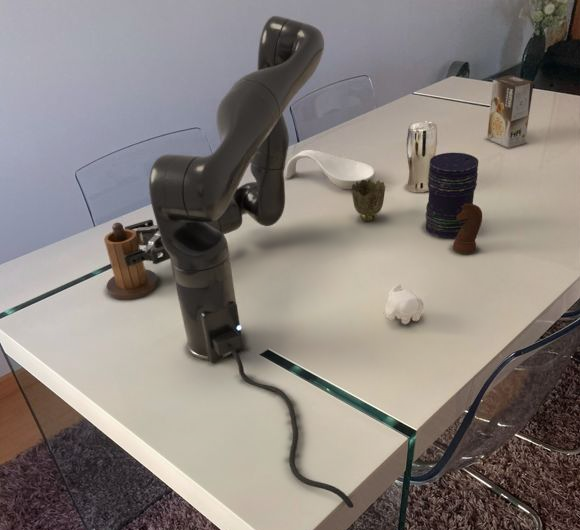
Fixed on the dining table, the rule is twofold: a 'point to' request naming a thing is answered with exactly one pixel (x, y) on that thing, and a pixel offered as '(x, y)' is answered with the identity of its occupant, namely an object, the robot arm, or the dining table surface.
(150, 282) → the peg stand
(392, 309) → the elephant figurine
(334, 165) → the spoon rest
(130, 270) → the wooden stave pot
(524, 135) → the coffee box
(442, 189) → the storage jar
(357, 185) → the cup
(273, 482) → the dining table surface
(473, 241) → the chess piece
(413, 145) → the beer glass
